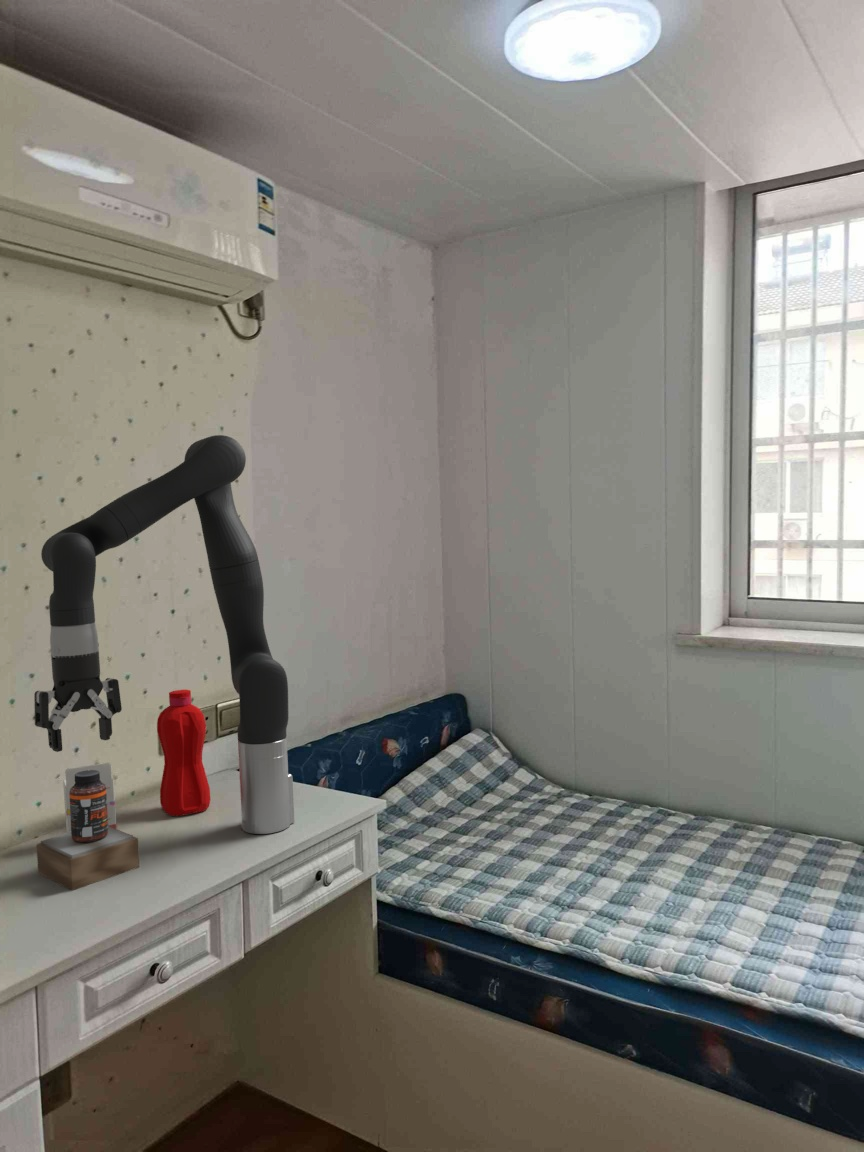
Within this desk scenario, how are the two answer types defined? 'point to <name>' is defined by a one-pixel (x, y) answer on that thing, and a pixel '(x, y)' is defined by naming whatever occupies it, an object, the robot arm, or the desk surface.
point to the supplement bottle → (88, 807)
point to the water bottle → (183, 756)
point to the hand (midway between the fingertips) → (81, 745)
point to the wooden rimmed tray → (87, 858)
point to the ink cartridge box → (104, 778)
